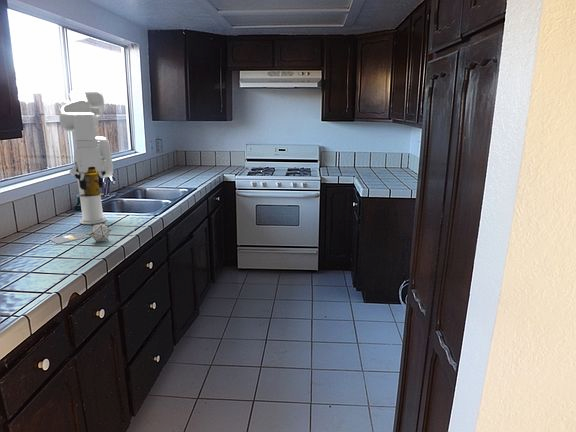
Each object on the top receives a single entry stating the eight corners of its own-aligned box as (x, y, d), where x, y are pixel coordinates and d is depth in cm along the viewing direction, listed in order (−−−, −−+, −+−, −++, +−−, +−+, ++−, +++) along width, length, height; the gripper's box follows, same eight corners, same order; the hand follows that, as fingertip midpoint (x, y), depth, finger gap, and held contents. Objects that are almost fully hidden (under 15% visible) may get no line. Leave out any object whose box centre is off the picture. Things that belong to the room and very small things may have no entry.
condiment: (105, 194, 177) (101, 165, 174) (86, 197, 170) (83, 168, 167) (93, 192, 181) (90, 164, 178) (75, 196, 174) (71, 167, 171)
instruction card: (48, 239, 184) (48, 238, 184) (81, 232, 195) (81, 232, 194) (57, 244, 178) (57, 243, 178) (90, 237, 188) (90, 236, 188)
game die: (105, 250, 182) (107, 235, 175) (84, 244, 180) (86, 229, 173) (112, 235, 188) (115, 220, 182) (92, 229, 186) (94, 214, 180)
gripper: (103, 142, 180) (108, 184, 184) (60, 145, 167) (66, 190, 172) (111, 143, 175) (116, 186, 179) (67, 146, 163) (73, 192, 167)
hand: (91, 188), depth 175 cm, fingers closed on condiment, 6 cm apart
